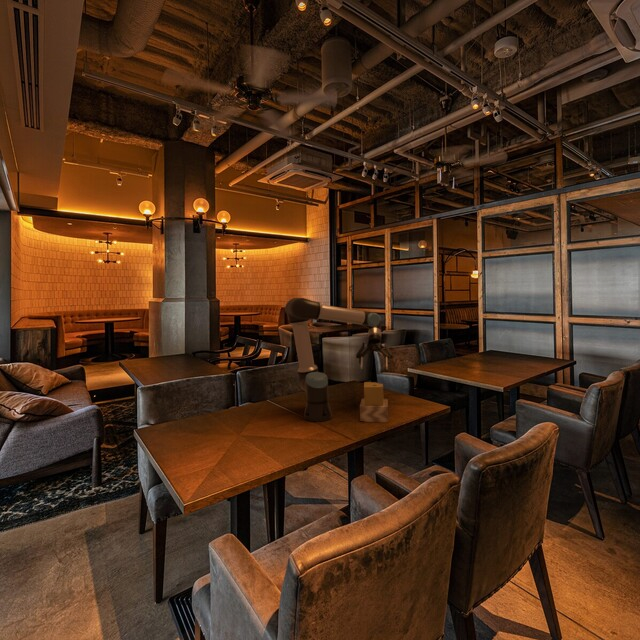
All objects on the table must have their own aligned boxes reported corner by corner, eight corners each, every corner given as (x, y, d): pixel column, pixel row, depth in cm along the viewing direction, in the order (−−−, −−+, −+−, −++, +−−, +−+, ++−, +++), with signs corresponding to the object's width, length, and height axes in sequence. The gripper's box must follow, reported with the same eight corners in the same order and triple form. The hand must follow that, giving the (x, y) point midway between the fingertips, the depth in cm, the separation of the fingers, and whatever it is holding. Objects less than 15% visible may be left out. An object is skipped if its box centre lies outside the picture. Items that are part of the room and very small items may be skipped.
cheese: (383, 400, 201) (383, 381, 200) (384, 406, 190) (383, 386, 190) (364, 400, 202) (363, 381, 202) (363, 405, 192) (362, 386, 191)
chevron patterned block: (360, 421, 192) (359, 406, 191) (362, 412, 206) (361, 398, 205) (387, 422, 189) (387, 406, 189) (388, 413, 203) (387, 399, 203)
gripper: (396, 341, 218) (397, 372, 204) (353, 341, 223) (351, 371, 209) (396, 333, 212) (397, 364, 199) (352, 333, 217) (350, 364, 203)
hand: (374, 368), depth 204 cm, fingers open, 13 cm apart
